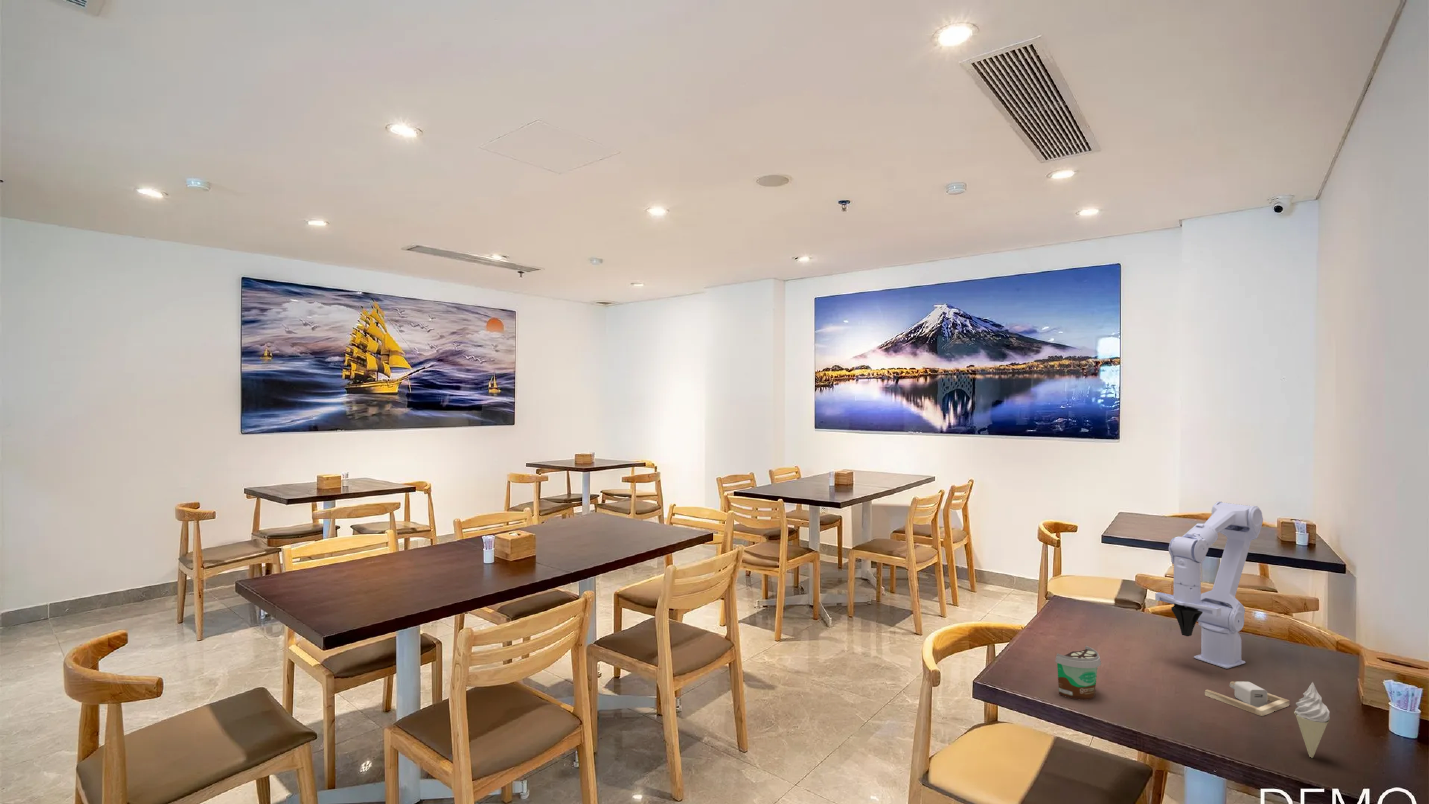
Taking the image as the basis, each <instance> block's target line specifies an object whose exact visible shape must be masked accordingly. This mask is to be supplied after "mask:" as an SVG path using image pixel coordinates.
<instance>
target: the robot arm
mask: <svg viewBox="0 0 1429 804" xmlns="http://www.w3.org/2000/svg"><path fill="white" fill-rule="evenodd" d="M1263 522H1264V517H1263V512H1262V510H1261V509H1260V507H1259V506H1258V505H1248V504H1247V505H1246V504H1240V503H1239V504H1238V503H1230V502H1223V501H1216V503H1214V504H1213V505H1212V507H1211V515H1210V516H1209V517H1208V519H1207V520H1206V521H1205V522H1204V523H1200V522H1199V523H1196V524H1195V525H1194V526H1193V527H1192V528H1190V529H1189V530H1188V531H1187V532H1185V533H1184V534H1183V535H1182V536H1180V535H1179V536H1176V537H1173V538H1172V539H1171V540H1170V542H1169V544H1168V545H1169V546H1168V553H1169V555H1170V561H1171V564H1172V565H1173V594H1169V593H1165V592H1159V591H1158V592H1156V593H1155V596H1154V597H1155V601H1158V602H1163V603H1168V604H1171V605H1172V607H1171V612H1172V613H1173V615H1174V616H1175V619H1176V621H1177V622H1178V625H1179V630H1180V633H1181V635H1182V636H1185V637H1191V636H1192V635H1193V631H1194V629H1195V625H1196V623H1198V626H1199V627H1200V628H1201V629H1200V630H1201V633H1200V635H1201V639H1200V643H1201V644H1200V645H1201V648H1200V650H1201V651H1200V652H1201V653H1200V654H1197V655H1193V658H1194V659H1196V660H1199V661H1202V662H1205V663H1208V664H1212V665H1214V666H1217V667H1221V668H1223V669H1231V668H1234V667H1238V666H1240V665H1244V664H1246V660H1242V637H1241V635H1240V633H1239V632H1240V631H1242V629H1243V627H1244V625H1245V612H1246V609H1245V607H1244V605H1243V604H1242V603H1241V602H1240V600H1239V599H1237V598H1236V595H1237V592H1238V588H1239V584H1240V582H1241V578H1242V575H1243V570H1244V567H1245V564H1246V560H1247V556H1248V554H1249V550H1250V547H1251V542H1252V541H1253V540H1254V541H1255V540H1256V539H1257V540H1258V538H1259V535H1260V533H1261V530H1262V526H1263ZM1219 533H1220V534H1222V535H1223V536H1225V537H1226V541H1225V546H1224V549H1223V553H1222V554H1221V555H1222V556H1221V558H1220V562H1219V565H1218V566H1219V567H1218V569H1217V572H1216V576H1215V579H1214V584H1213V586H1212V589H1211V590H1208V591H1205V592H1201V590H1202V589H1201V587H1202V585H1201V584H1202V578H1201V577H1202V570H1201V569H1202V562H1203V561H1204V560H1205V558H1206V556H1207V553H1208V551H1209V549H1210V547H1211V546H1213V544H1215V543H1216V541H1218V538H1219V536H1218V535H1219Z"/></svg>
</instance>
